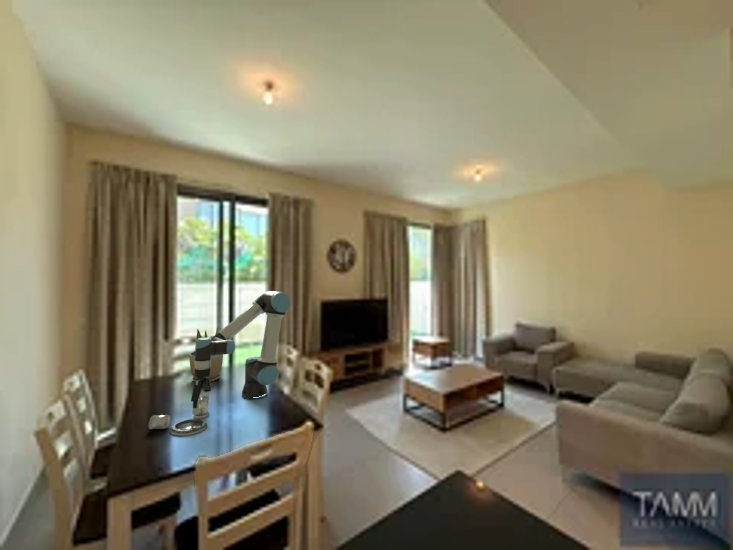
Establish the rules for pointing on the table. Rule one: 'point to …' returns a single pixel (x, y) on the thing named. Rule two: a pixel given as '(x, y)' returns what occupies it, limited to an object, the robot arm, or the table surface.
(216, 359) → the potted plant
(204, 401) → the knob
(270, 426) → the table surface
